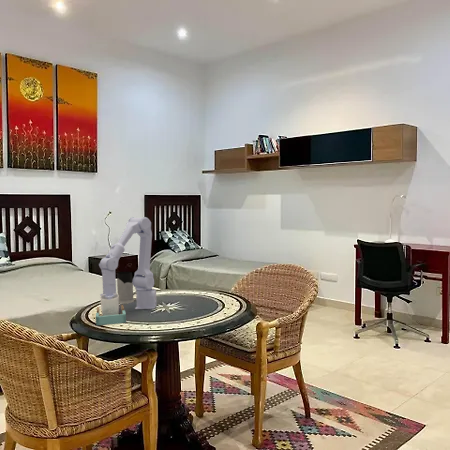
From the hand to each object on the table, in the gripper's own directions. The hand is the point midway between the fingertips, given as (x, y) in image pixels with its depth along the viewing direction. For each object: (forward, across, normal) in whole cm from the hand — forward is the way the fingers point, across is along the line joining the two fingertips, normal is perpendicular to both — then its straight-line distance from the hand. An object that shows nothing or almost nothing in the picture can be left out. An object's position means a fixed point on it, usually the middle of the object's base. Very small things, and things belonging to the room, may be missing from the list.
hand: (110, 313), depth 201 cm
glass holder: (+1, -30, +10) cm, 32 cm away
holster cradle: (+1, -4, 0) cm, 5 cm away
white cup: (+1, +4, 0) cm, 4 cm away
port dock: (+1, +9, 0) cm, 9 cm away
